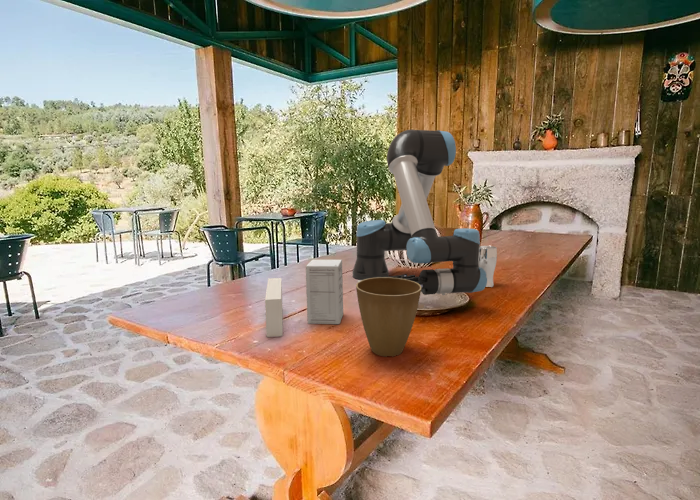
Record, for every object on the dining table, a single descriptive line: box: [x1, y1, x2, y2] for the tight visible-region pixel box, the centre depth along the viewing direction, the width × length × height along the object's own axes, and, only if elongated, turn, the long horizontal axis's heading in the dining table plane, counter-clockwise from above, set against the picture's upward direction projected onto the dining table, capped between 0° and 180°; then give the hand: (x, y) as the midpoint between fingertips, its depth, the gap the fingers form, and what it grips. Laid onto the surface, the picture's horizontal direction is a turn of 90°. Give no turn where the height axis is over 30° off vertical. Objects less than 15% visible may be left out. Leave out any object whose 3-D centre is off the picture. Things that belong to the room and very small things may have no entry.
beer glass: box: [478, 245, 498, 288], centre depth 146 cm, size 7×7×15 cm
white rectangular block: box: [264, 277, 284, 338], centre depth 109 cm, size 4×22×10 cm, turn 10°
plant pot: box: [355, 277, 422, 357], centre depth 89 cm, size 15×15×16 cm
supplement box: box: [305, 259, 344, 325], centre depth 111 cm, size 10×9×17 cm
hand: (358, 285), depth 112 cm, fingers closed
